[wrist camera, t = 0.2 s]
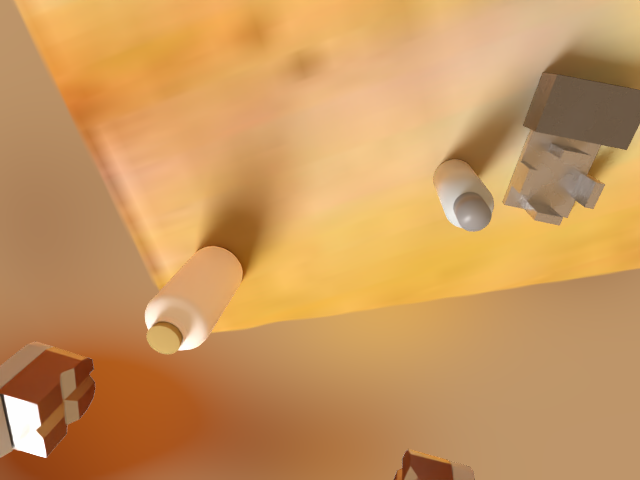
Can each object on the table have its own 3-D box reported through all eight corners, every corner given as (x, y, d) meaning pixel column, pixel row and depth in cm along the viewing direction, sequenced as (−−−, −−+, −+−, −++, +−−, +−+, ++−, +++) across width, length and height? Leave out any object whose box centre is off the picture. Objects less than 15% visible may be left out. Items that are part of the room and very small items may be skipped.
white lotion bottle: (439, 155, 53) (457, 187, 41) (478, 163, 53) (508, 198, 40) (428, 192, 55) (442, 233, 43) (466, 200, 55) (490, 244, 42)
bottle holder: (542, 72, 48) (559, 74, 43) (631, 89, 47) (657, 93, 43) (494, 200, 55) (504, 213, 50) (572, 216, 54) (589, 231, 50)
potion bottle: (250, 254, 63) (203, 324, 47) (238, 298, 66) (191, 377, 50) (197, 236, 63) (132, 299, 47) (188, 281, 66) (125, 355, 50)
